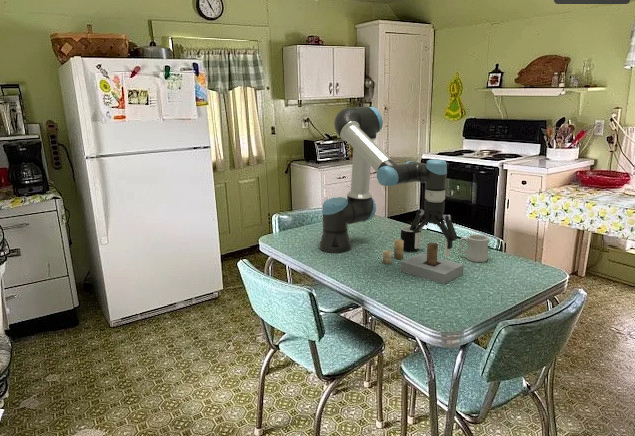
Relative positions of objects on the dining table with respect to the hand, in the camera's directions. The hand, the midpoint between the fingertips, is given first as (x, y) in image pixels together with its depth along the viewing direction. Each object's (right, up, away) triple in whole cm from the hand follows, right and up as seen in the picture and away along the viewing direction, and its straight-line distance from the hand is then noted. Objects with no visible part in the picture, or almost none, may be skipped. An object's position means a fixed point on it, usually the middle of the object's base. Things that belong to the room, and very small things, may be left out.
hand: (431, 252), depth 183 cm
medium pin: (-10, -4, +19) cm, 22 cm away
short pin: (-16, -6, +14) cm, 22 cm away
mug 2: (+22, -4, +16) cm, 28 cm away
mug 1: (-3, -1, +31) cm, 31 cm away
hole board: (0, -8, +2) cm, 9 cm away
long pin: (0, -8, +2) cm, 9 cm away
